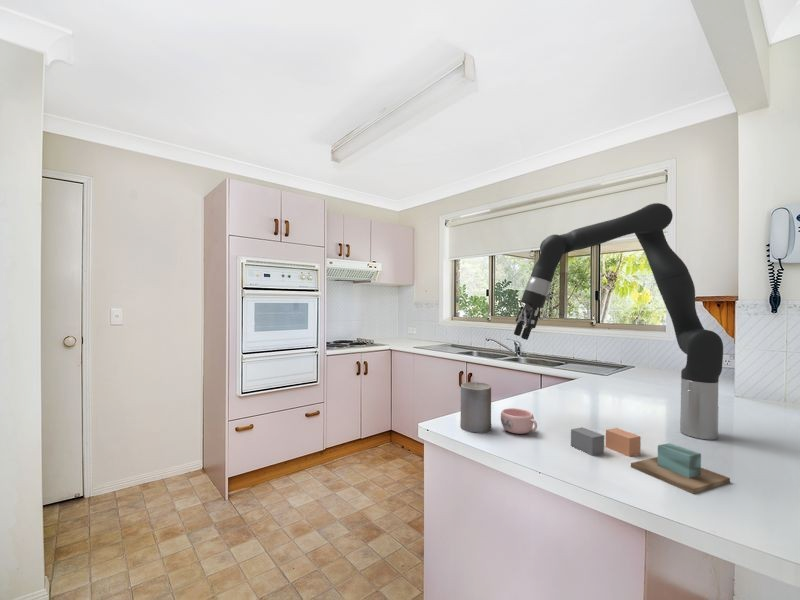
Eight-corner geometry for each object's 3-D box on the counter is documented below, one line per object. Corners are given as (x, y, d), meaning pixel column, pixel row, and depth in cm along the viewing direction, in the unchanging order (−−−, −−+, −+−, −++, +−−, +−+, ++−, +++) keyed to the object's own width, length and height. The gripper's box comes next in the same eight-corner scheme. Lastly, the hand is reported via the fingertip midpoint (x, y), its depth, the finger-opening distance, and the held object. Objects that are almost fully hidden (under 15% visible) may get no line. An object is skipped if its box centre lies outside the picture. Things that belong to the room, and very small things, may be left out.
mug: (493, 429, 120) (494, 411, 120) (512, 423, 126) (512, 406, 126) (527, 441, 110) (527, 421, 110) (545, 434, 116) (546, 415, 116)
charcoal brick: (582, 444, 109) (582, 427, 109) (603, 453, 102) (604, 435, 102) (570, 446, 107) (571, 429, 107) (592, 456, 101) (592, 437, 101)
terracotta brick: (616, 445, 109) (616, 428, 109) (640, 454, 102) (640, 436, 102) (605, 447, 107) (605, 429, 107) (629, 457, 101) (629, 438, 101)
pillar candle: (475, 421, 128) (475, 377, 128) (497, 429, 120) (498, 382, 120) (453, 426, 122) (454, 380, 122) (475, 435, 114) (475, 386, 114)
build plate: (666, 458, 100) (666, 435, 100) (729, 482, 87) (730, 456, 87) (630, 466, 94) (631, 442, 94) (693, 493, 81) (693, 466, 81)
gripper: (554, 296, 122) (537, 344, 123) (539, 294, 136) (524, 337, 137) (532, 289, 122) (515, 336, 123) (519, 288, 136) (504, 330, 137)
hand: (520, 337), depth 130 cm, fingers open, 8 cm apart
